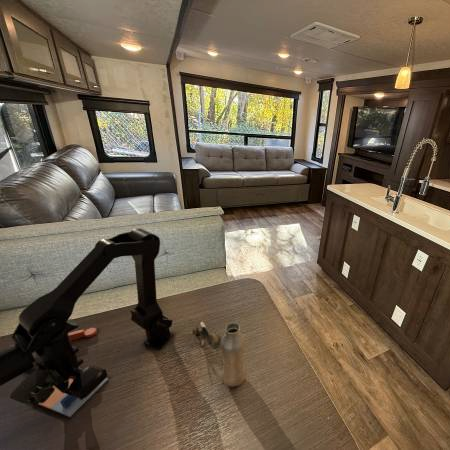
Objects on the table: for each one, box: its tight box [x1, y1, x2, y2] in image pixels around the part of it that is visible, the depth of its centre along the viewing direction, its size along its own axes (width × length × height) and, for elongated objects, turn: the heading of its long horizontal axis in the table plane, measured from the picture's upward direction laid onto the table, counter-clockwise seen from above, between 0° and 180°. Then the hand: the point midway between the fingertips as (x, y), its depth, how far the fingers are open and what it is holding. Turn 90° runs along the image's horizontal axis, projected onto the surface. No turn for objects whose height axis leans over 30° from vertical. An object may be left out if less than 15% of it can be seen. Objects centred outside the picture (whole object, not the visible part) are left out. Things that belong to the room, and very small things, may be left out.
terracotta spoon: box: [68, 327, 98, 341], centre depth 80 cm, size 8×3×2 cm, turn 121°
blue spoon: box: [60, 395, 77, 408], centre depth 65 cm, size 8×3×2 cm, turn 166°
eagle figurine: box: [187, 321, 221, 348], centre depth 82 cm, size 8×7×9 cm
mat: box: [38, 377, 109, 418], centre depth 66 cm, size 12×10×1 cm
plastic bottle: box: [219, 322, 247, 388], centre depth 68 cm, size 6×7×20 cm
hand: (74, 394), depth 63 cm, fingers open, 5 cm apart
